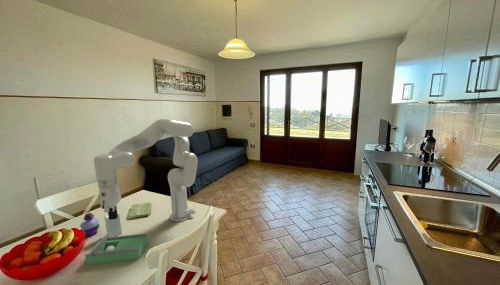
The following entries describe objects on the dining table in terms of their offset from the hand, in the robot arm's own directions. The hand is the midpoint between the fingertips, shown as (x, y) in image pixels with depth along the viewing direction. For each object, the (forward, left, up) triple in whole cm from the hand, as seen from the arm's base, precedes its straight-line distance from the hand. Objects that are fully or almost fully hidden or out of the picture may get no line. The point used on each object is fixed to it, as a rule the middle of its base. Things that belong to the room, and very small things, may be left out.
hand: (113, 218), depth 97 cm
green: (-1, 0, -18) cm, 18 cm away
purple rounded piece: (+21, -19, -18) cm, 34 cm away
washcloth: (+2, -40, -19) cm, 44 cm away
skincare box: (+8, -16, -18) cm, 25 cm away
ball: (+3, +1, -16) cm, 16 cm away
